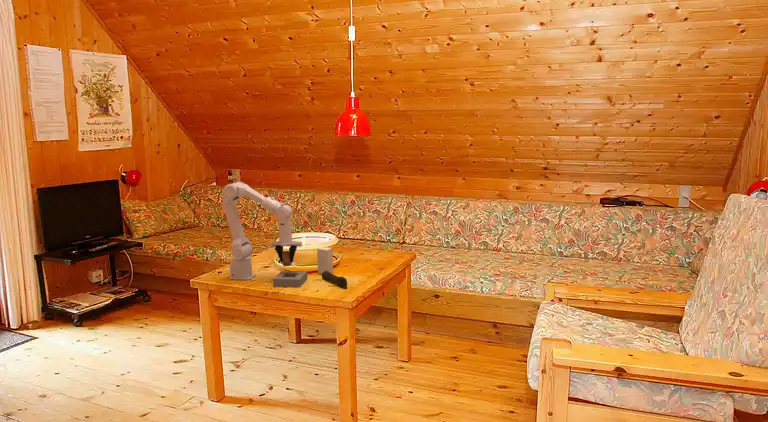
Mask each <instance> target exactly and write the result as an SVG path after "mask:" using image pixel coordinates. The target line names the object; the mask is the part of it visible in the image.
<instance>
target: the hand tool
mask: <svg viewBox="0 0 768 422" xmlns="http://www.w3.org/2000/svg"><path fill="white" fill-rule="evenodd" d="M321 279H322V280H324V281H328V282H330V283H332V284H334V285H336V286H337V287H338V288H339V289H340V288H341V289H346V290H347V289H348V281H347V278H346V277H344V276H337V275H335V274H333V273H329V271H324V272H323V273H322V274H321Z"/></svg>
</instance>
